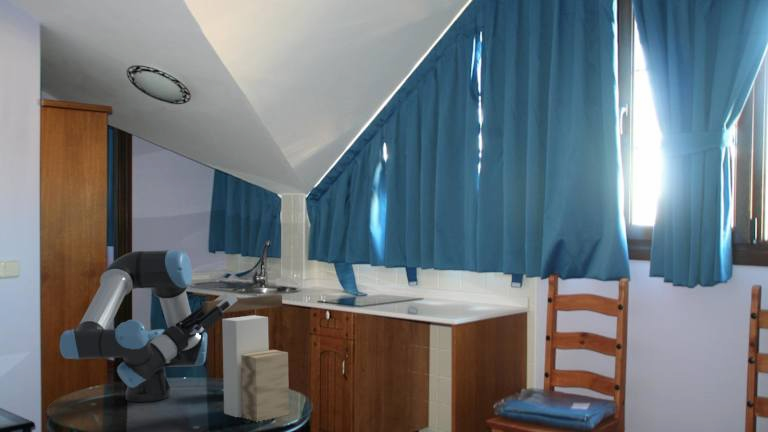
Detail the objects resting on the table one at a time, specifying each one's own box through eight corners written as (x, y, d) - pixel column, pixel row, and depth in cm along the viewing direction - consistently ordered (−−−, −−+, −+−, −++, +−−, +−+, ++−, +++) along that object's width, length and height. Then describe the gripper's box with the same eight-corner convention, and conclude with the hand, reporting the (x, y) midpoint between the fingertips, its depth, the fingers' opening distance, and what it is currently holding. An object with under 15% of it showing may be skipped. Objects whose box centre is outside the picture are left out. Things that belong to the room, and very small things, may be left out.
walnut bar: (202, 313, 215) (202, 301, 215) (275, 305, 233) (275, 294, 233) (208, 314, 212) (208, 302, 212) (282, 306, 230) (282, 295, 230)
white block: (224, 413, 232) (222, 319, 233) (255, 406, 241) (254, 315, 241) (237, 417, 226) (236, 321, 227) (269, 410, 235) (268, 317, 235)
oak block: (242, 417, 226) (241, 354, 227) (274, 410, 235) (273, 349, 235) (257, 422, 221) (255, 357, 221) (289, 414, 229) (287, 352, 229)
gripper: (162, 351, 213) (222, 304, 227) (190, 358, 201) (252, 308, 215) (149, 330, 210) (211, 284, 224) (177, 336, 198) (240, 287, 212)
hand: (231, 296), depth 219 cm, fingers closed on walnut bar, 3 cm apart
